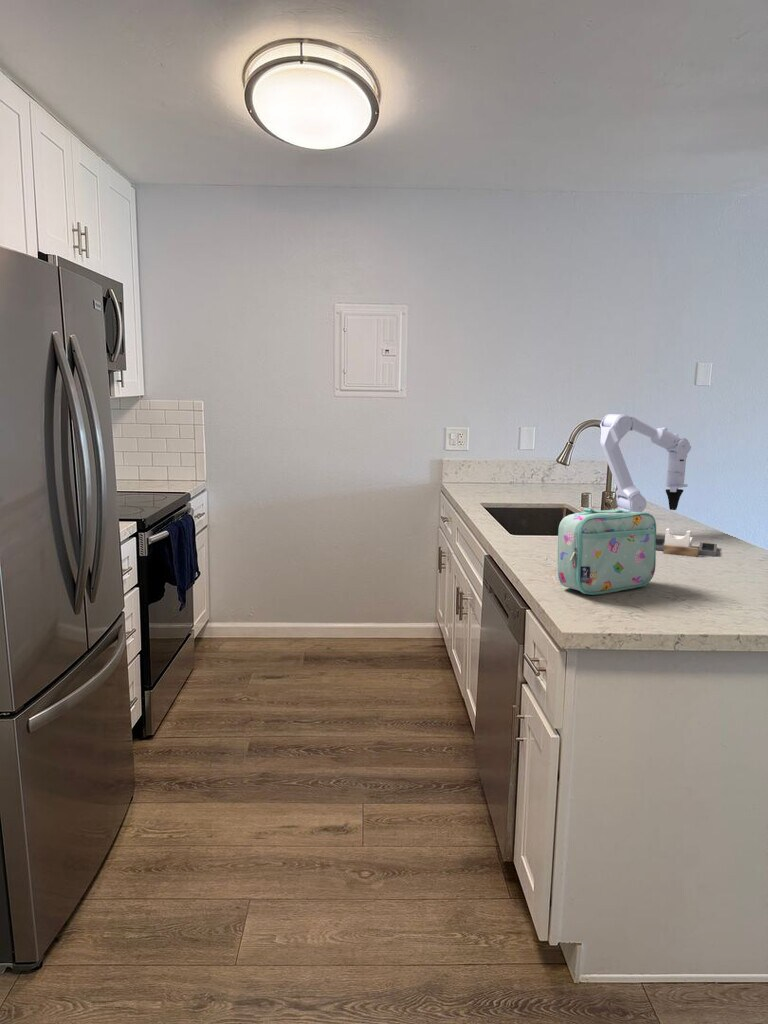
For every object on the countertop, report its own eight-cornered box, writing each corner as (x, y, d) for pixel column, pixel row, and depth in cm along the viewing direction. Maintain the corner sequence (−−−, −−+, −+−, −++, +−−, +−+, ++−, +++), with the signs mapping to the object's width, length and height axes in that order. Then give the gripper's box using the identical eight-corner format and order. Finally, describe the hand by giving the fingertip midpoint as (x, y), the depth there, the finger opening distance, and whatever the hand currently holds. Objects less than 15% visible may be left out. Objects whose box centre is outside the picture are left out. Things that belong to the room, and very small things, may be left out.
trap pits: (647, 549, 217) (647, 544, 217) (651, 541, 228) (651, 537, 228) (715, 556, 208) (716, 551, 208) (716, 548, 219) (717, 543, 219)
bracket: (687, 555, 211) (689, 532, 209) (663, 552, 214) (665, 529, 213) (691, 547, 222) (693, 525, 220) (668, 545, 225) (670, 523, 224)
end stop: (663, 553, 212) (663, 545, 212) (663, 552, 213) (664, 544, 213) (697, 556, 208) (698, 549, 207) (697, 555, 209) (698, 548, 209)
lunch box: (576, 600, 164) (581, 514, 160) (549, 589, 173) (554, 507, 169) (658, 588, 174) (664, 507, 171) (629, 578, 184) (634, 501, 180)
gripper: (687, 474, 226) (683, 513, 229) (689, 470, 239) (686, 507, 242) (664, 473, 230) (661, 512, 232) (668, 469, 242) (665, 505, 245)
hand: (672, 509), depth 237 cm, fingers closed
